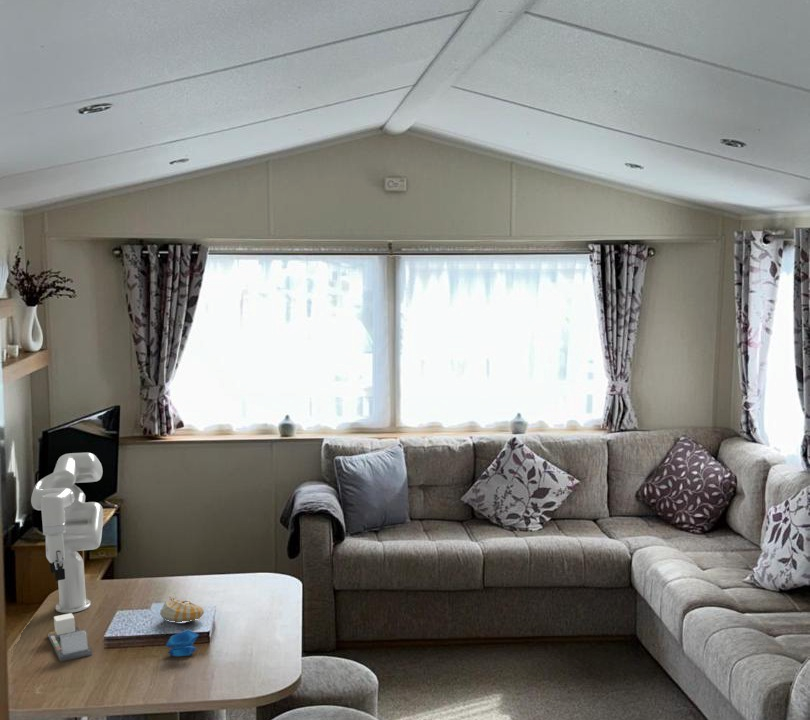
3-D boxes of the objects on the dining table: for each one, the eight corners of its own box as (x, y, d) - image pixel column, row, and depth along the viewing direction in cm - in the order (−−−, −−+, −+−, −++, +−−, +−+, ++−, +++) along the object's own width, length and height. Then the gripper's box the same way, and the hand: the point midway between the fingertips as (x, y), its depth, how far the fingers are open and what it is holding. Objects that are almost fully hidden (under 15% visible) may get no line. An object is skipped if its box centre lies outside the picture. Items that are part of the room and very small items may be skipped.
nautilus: (154, 614, 354) (195, 609, 359) (163, 631, 334) (206, 626, 340) (154, 593, 353) (195, 588, 359) (163, 609, 333) (206, 604, 339)
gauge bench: (48, 636, 334) (46, 616, 333) (77, 630, 339) (76, 610, 338) (60, 661, 313) (59, 640, 312) (91, 654, 318) (90, 633, 317)
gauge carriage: (48, 631, 332) (47, 617, 331) (72, 626, 336) (71, 612, 335) (51, 636, 327) (50, 622, 327) (75, 631, 331) (74, 617, 331)
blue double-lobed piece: (162, 632, 318) (197, 621, 319) (170, 655, 320) (205, 645, 321) (160, 641, 311) (196, 630, 312) (167, 665, 312) (203, 654, 313)
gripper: (38, 524, 340) (42, 571, 342) (47, 536, 325) (51, 585, 327) (60, 521, 344) (64, 567, 346) (70, 532, 329) (73, 581, 331)
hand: (57, 575), depth 337 cm, fingers open, 8 cm apart
